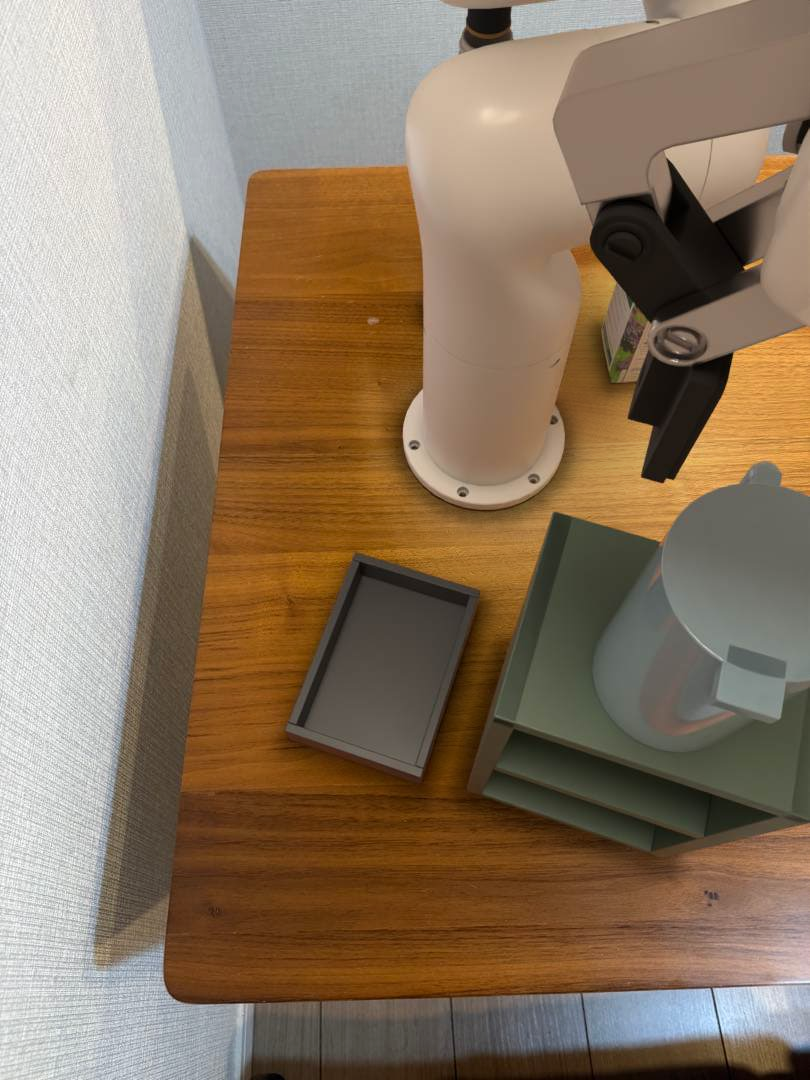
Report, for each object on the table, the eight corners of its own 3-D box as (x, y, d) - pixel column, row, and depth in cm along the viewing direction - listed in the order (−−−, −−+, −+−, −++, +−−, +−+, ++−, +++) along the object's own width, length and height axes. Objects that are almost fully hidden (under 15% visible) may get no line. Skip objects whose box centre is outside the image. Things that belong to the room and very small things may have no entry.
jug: (622, 539, 37) (697, 399, 27) (765, 580, 36) (898, 451, 26) (569, 746, 33) (634, 674, 23) (729, 799, 32) (867, 746, 22)
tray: (358, 568, 61) (355, 551, 58) (478, 605, 59) (480, 590, 56) (291, 740, 55) (284, 731, 53) (420, 785, 54) (420, 778, 51)
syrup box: (598, 329, 69) (640, 191, 56) (667, 324, 69) (726, 185, 56) (610, 385, 67) (657, 254, 54) (682, 380, 67) (746, 249, 54)
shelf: (507, 650, 58) (553, 510, 38) (691, 709, 56) (844, 593, 36) (465, 790, 54) (492, 716, 34) (662, 858, 52) (815, 822, 32)
